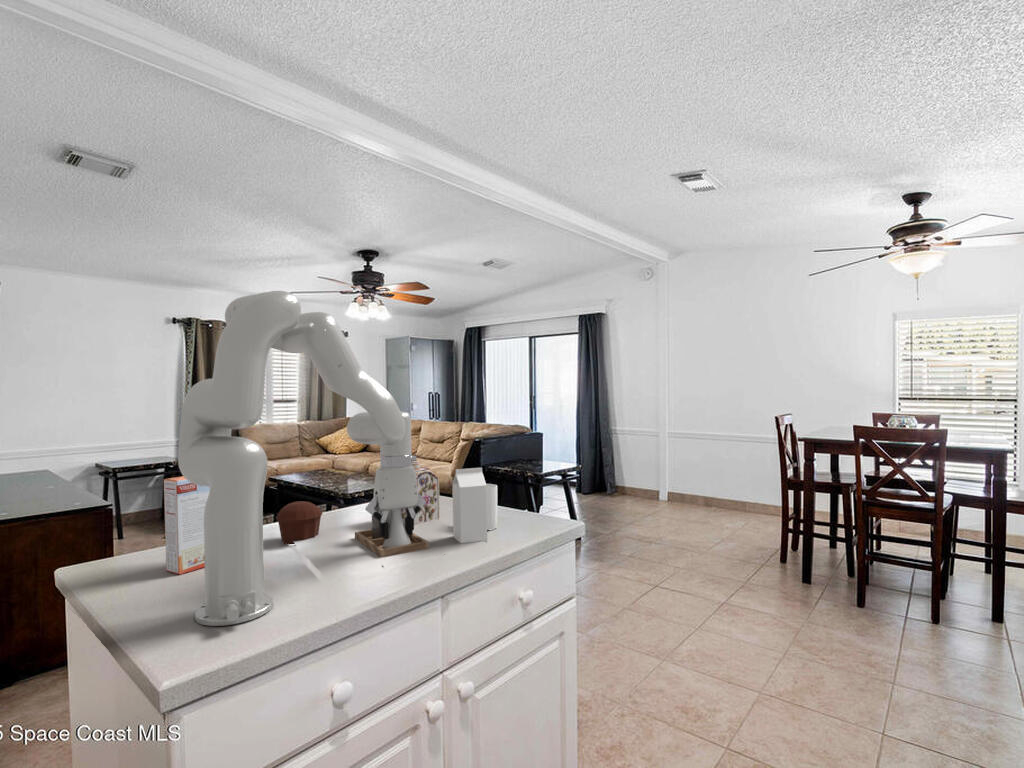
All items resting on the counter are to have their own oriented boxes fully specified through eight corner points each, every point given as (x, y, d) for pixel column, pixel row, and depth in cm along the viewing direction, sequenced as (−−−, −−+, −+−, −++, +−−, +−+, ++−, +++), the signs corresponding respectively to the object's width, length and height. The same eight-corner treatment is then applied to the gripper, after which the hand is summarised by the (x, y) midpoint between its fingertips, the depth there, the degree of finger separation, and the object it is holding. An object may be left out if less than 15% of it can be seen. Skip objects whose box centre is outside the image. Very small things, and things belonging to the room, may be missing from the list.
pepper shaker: (399, 539, 140) (398, 500, 140) (376, 543, 137) (376, 503, 137) (390, 534, 145) (390, 496, 145) (368, 538, 142) (368, 499, 142)
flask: (404, 552, 129) (403, 510, 129) (376, 551, 130) (375, 509, 130) (416, 543, 136) (415, 503, 136) (389, 542, 137) (388, 503, 137)
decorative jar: (411, 530, 153) (410, 466, 153) (384, 524, 160) (383, 463, 160) (441, 521, 163) (440, 461, 163) (414, 516, 170) (413, 458, 170)
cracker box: (224, 554, 133) (223, 469, 133) (239, 558, 130) (238, 470, 130) (163, 571, 121) (162, 477, 121) (178, 575, 118) (177, 479, 118)
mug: (503, 528, 154) (502, 485, 154) (485, 532, 149) (484, 489, 149) (479, 522, 161) (479, 481, 161) (462, 526, 156) (461, 484, 156)
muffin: (329, 534, 150) (328, 498, 150) (313, 545, 139) (313, 506, 139) (286, 534, 151) (286, 498, 151) (267, 546, 139) (267, 507, 140)
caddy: (428, 552, 132) (428, 541, 132) (381, 561, 125) (381, 550, 125) (398, 534, 149) (398, 525, 149) (354, 541, 142) (354, 532, 142)
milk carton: (487, 543, 138) (486, 469, 138) (460, 547, 136) (459, 471, 136) (478, 536, 145) (477, 465, 145) (453, 540, 142) (452, 467, 142)
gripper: (422, 457, 141) (423, 527, 141) (356, 463, 131) (357, 538, 131) (434, 460, 135) (435, 533, 134) (366, 466, 125) (367, 545, 125)
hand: (396, 535), depth 133 cm, fingers open, 5 cm apart
